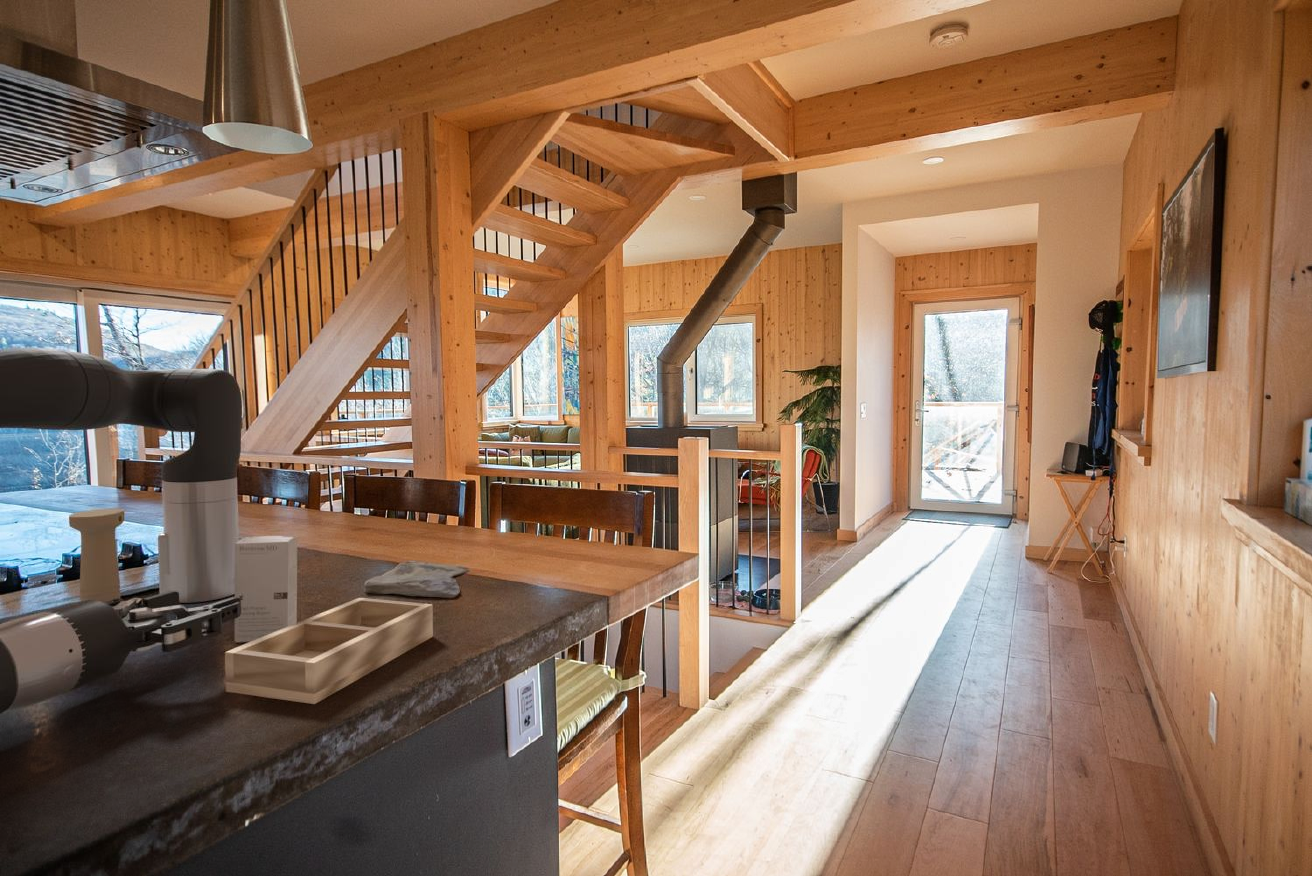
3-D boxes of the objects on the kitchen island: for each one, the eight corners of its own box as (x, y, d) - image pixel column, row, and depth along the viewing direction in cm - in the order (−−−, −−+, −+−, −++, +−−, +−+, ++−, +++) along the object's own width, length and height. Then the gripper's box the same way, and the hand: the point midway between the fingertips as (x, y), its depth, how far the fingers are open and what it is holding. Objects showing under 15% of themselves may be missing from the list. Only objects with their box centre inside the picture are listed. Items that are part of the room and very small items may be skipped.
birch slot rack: (314, 704, 67) (313, 663, 67) (226, 691, 70) (224, 652, 70) (432, 636, 87) (432, 604, 86) (359, 628, 89) (359, 597, 89)
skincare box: (233, 644, 83) (230, 543, 83) (246, 632, 88) (243, 535, 87) (289, 640, 85) (287, 541, 84) (300, 628, 89) (297, 534, 88)
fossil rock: (400, 572, 121) (400, 558, 121) (487, 573, 120) (487, 559, 120) (354, 600, 103) (354, 584, 103) (455, 602, 103) (455, 586, 103)
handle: (63, 643, 83) (58, 517, 82) (94, 626, 90) (89, 509, 89) (110, 640, 84) (105, 516, 83) (137, 623, 91) (133, 508, 90)
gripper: (106, 620, 60) (258, 574, 76) (-14, 606, 64) (155, 565, 80) (110, 705, 61) (260, 642, 76) (-9, 687, 64) (158, 630, 80)
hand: (207, 603), depth 78 cm, fingers open, 8 cm apart
